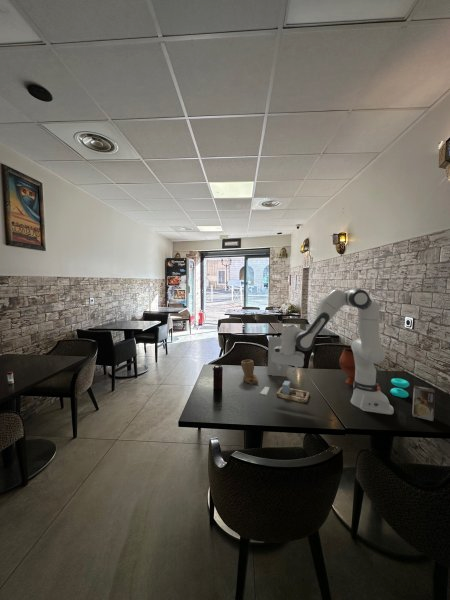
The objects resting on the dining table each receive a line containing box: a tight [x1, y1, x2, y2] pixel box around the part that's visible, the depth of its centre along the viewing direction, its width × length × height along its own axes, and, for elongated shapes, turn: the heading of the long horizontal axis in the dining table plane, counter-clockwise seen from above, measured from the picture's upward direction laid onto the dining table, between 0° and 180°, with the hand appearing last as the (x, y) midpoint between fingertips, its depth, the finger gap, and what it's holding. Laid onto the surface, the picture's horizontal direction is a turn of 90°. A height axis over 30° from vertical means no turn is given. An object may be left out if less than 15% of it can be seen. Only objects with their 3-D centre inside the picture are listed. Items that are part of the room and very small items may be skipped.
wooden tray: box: [276, 386, 310, 404], centre depth 161 cm, size 18×12×4 cm, turn 63°
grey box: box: [266, 336, 288, 377], centre depth 200 cm, size 14×6×30 cm, turn 84°
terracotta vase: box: [338, 347, 355, 386], centre depth 186 cm, size 19×19×25 cm
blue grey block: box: [281, 380, 291, 395], centre depth 162 cm, size 4×7×9 cm, turn 153°
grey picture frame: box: [411, 385, 436, 422], centre depth 141 cm, size 9×6×16 cm
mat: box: [259, 386, 270, 396], centre depth 169 cm, size 9×12×1 cm
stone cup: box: [241, 359, 259, 385], centre depth 187 cm, size 15×12×15 cm
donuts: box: [389, 377, 410, 399], centre depth 169 cm, size 10×10×10 cm
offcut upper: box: [295, 392, 304, 398], centre depth 159 cm, size 4×6×2 cm
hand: (286, 371), depth 162 cm, fingers open, 8 cm apart
